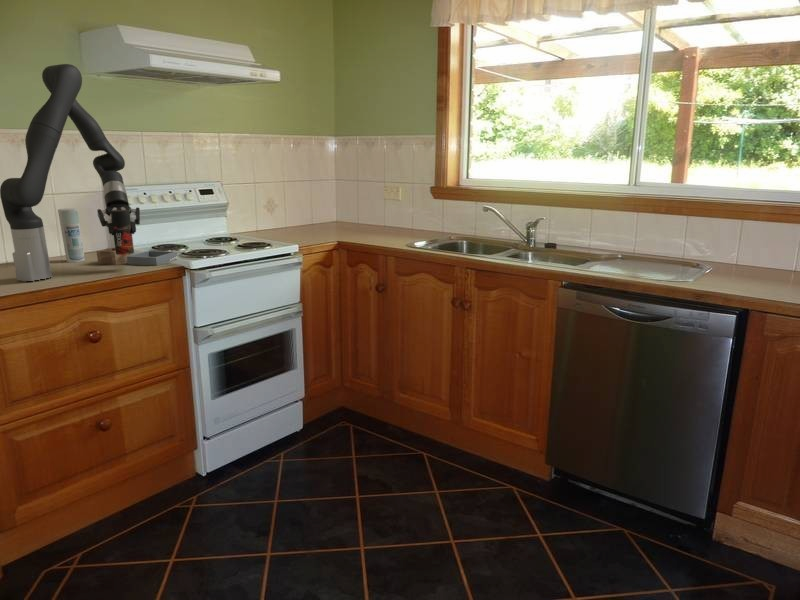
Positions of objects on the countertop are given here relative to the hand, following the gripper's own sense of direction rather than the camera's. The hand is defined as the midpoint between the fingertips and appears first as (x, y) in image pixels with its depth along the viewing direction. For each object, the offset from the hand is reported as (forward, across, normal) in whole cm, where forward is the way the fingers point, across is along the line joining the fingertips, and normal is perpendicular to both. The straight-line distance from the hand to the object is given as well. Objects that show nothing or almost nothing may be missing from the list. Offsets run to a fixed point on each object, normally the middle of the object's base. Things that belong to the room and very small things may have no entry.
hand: (123, 233), depth 205 cm
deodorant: (+4, 0, +6) cm, 8 cm away
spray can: (-14, -15, +33) cm, 39 cm away
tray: (0, +10, +18) cm, 21 cm away
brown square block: (-5, -2, +24) cm, 24 cm away
